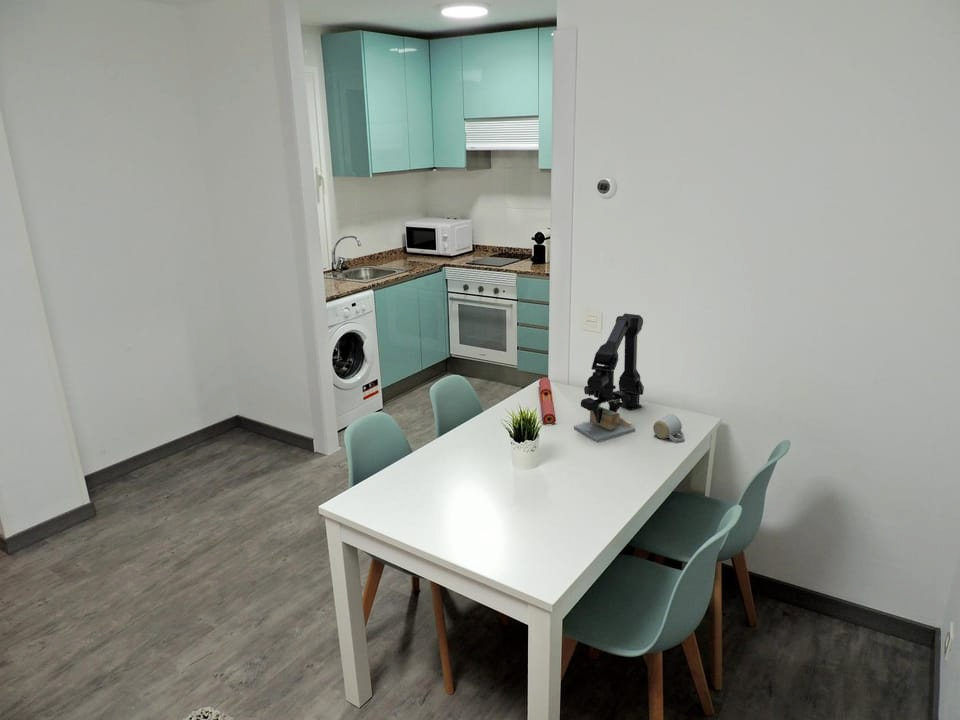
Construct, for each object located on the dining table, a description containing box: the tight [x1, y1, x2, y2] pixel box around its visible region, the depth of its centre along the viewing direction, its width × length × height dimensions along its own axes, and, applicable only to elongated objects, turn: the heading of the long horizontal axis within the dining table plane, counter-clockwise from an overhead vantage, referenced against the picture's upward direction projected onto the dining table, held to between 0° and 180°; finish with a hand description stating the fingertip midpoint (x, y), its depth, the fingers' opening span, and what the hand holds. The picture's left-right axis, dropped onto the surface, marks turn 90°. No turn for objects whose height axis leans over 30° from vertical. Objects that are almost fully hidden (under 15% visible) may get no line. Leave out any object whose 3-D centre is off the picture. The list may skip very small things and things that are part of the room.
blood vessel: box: [538, 377, 557, 425], centre depth 275 cm, size 42×5×5 cm, turn 177°
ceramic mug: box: [652, 413, 685, 443], centre depth 240 cm, size 11×8×8 cm
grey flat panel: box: [573, 416, 636, 443], centre depth 249 cm, size 18×14×3 cm
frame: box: [589, 406, 620, 430], centre depth 248 cm, size 5×10×5 cm, turn 39°
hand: (604, 421), depth 248 cm, fingers closed on frame, 5 cm apart
